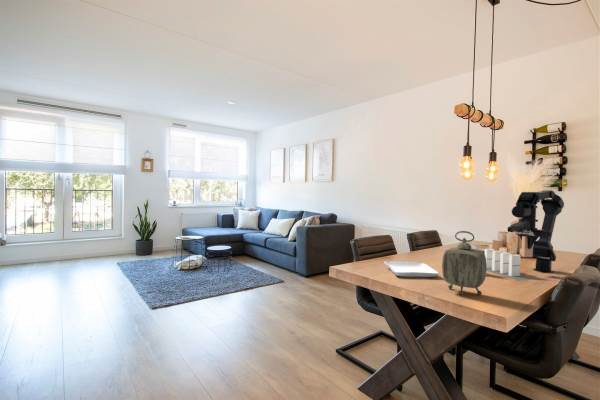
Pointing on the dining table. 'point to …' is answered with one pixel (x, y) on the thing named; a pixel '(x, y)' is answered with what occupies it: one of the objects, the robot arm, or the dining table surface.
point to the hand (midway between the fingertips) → (527, 248)
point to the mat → (521, 277)
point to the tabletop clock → (464, 266)
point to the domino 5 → (526, 248)
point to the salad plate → (411, 269)
